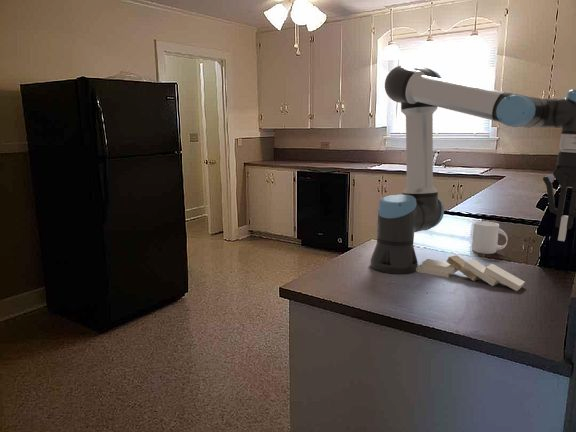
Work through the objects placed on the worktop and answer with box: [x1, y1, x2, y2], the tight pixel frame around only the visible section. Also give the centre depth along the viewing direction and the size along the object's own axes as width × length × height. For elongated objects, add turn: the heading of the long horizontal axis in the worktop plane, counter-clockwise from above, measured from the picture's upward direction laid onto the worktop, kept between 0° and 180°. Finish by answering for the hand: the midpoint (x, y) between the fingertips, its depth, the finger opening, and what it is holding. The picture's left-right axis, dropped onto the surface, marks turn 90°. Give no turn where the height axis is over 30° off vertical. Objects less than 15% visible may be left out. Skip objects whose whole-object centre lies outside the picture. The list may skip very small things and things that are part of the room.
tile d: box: [484, 263, 525, 292], centre depth 127 cm, size 2×5×10 cm
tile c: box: [463, 258, 501, 287], centre depth 130 cm, size 2×5×10 cm
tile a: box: [415, 263, 452, 278], centre depth 138 cm, size 2×5×10 cm
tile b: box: [421, 258, 459, 275], centre depth 138 cm, size 2×5×10 cm
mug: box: [471, 220, 509, 255], centre depth 162 cm, size 9×12×11 cm
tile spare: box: [445, 254, 481, 282], centre depth 134 cm, size 2×5×10 cm
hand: (561, 239), depth 117 cm, fingers closed
